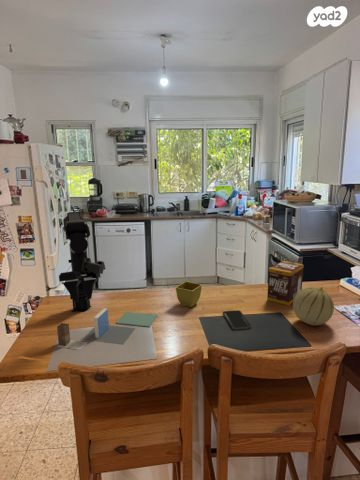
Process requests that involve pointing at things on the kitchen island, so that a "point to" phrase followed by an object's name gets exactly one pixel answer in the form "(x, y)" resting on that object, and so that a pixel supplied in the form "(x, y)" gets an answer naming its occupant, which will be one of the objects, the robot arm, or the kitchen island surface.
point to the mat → (111, 335)
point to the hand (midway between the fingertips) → (83, 300)
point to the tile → (101, 323)
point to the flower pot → (188, 293)
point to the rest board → (137, 319)
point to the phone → (236, 320)
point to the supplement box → (284, 282)
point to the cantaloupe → (313, 305)
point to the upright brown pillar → (68, 338)
